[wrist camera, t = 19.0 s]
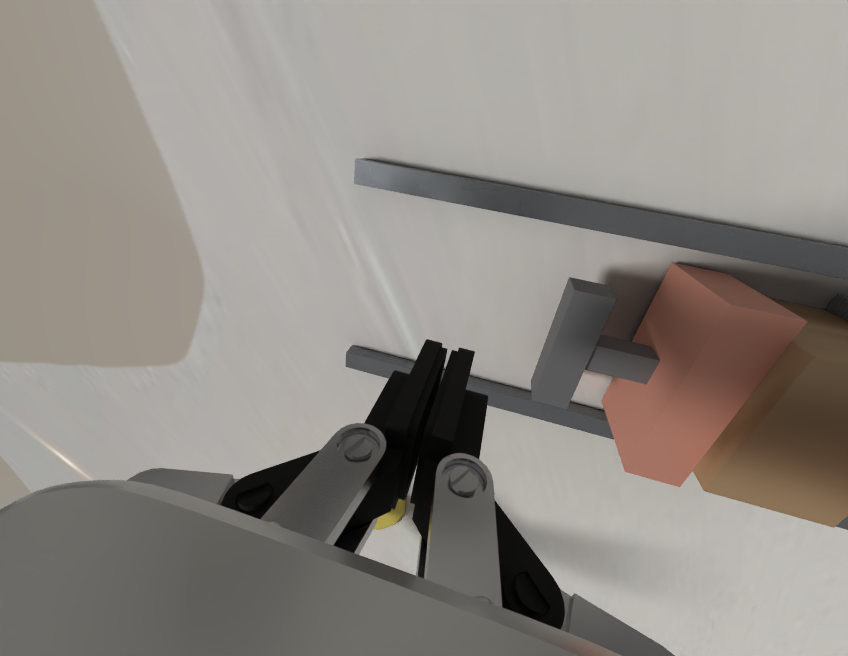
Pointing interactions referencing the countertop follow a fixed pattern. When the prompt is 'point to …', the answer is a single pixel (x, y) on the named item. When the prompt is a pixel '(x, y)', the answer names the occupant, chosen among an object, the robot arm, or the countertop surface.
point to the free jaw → (667, 364)
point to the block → (791, 429)
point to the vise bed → (596, 218)
